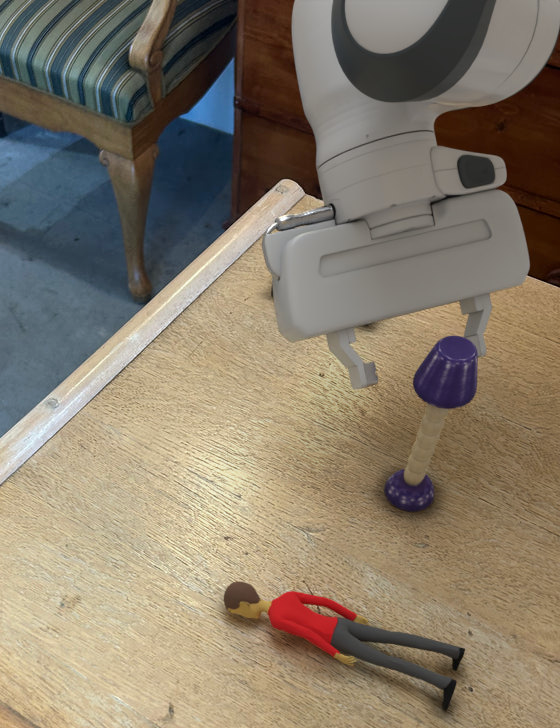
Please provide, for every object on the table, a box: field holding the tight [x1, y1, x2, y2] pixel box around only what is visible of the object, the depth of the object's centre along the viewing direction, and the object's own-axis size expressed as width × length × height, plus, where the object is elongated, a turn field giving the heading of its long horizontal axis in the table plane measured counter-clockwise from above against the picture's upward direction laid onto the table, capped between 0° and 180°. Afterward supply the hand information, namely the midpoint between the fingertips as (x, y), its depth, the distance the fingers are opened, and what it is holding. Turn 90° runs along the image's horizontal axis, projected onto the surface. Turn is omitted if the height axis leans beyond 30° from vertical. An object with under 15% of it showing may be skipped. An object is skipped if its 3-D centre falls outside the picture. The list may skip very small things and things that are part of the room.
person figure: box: [223, 581, 466, 711], centre depth 67 cm, size 5×4×18 cm
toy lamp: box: [383, 334, 479, 513], centre depth 70 cm, size 5×5×17 cm
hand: (420, 373), depth 70 cm, fingers open, 8 cm apart
